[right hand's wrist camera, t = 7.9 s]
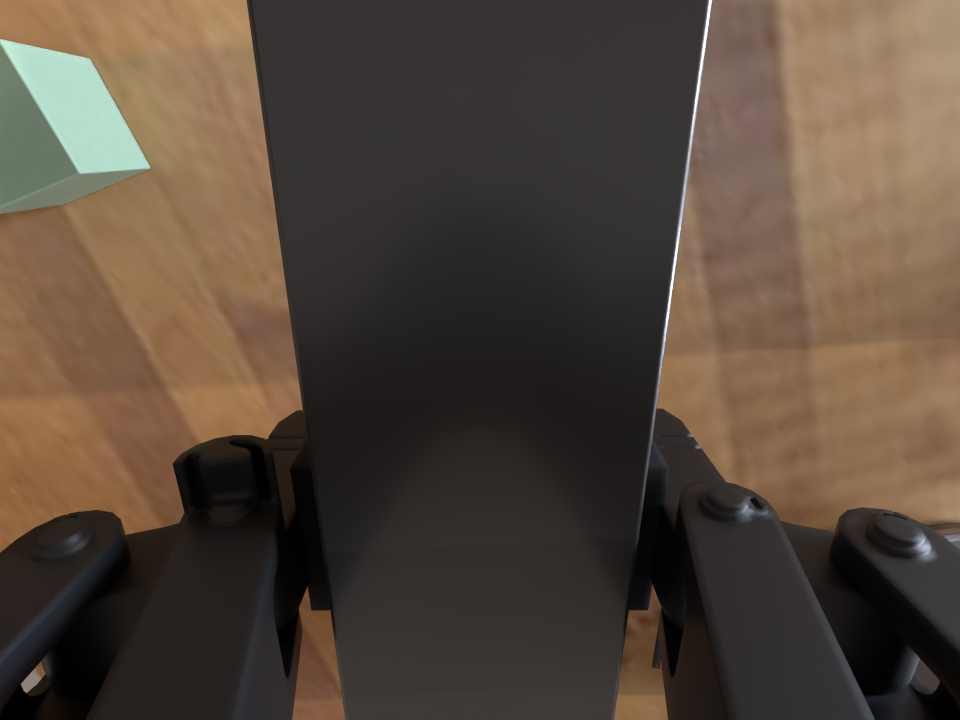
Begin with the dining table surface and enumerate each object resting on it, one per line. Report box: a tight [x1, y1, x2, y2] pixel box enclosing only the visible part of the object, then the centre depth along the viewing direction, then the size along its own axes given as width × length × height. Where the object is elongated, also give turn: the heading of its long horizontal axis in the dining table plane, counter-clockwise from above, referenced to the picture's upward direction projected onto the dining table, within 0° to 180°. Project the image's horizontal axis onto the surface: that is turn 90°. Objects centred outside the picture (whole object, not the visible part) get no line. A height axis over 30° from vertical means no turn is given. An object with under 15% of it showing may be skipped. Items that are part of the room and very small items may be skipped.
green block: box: [0, 39, 150, 214], centre depth 23 cm, size 5×5×5 cm
